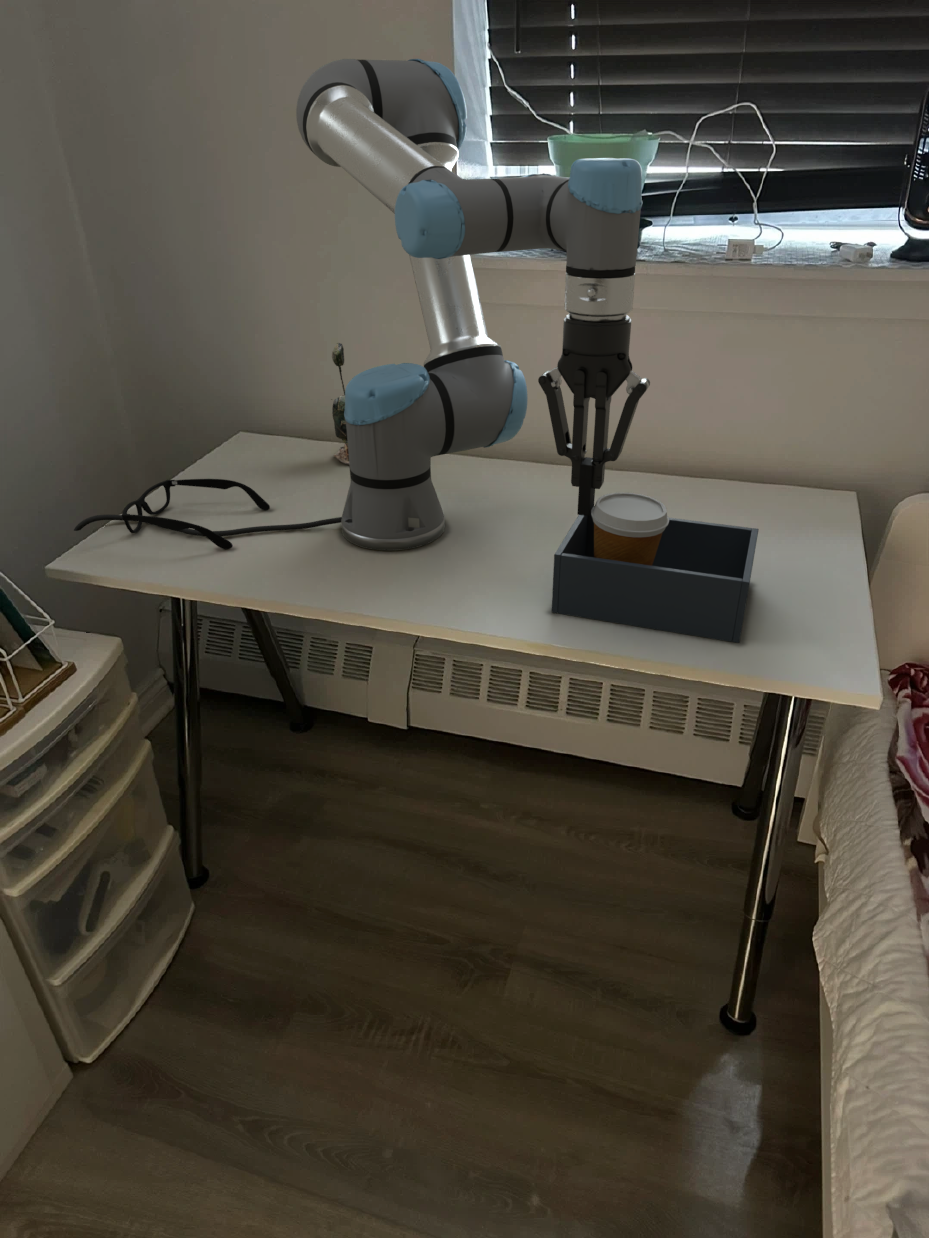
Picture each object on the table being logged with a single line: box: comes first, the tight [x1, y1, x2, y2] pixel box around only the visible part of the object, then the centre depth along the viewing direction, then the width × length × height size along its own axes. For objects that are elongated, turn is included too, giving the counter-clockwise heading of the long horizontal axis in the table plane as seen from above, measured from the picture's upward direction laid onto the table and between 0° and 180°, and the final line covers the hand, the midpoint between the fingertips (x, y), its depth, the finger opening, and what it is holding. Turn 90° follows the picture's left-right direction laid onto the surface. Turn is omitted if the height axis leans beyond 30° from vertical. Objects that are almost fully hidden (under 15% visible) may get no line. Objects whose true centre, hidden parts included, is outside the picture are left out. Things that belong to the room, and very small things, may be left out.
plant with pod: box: [330, 342, 349, 465], centre depth 154 cm, size 8×11×20 cm
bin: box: [551, 514, 759, 644], centre depth 111 cm, size 23×16×8 cm
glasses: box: [121, 478, 271, 550], centre depth 133 cm, size 17×18×5 cm
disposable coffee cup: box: [591, 491, 670, 566], centre depth 111 cm, size 10×10×12 cm
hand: (585, 511), depth 110 cm, fingers closed
